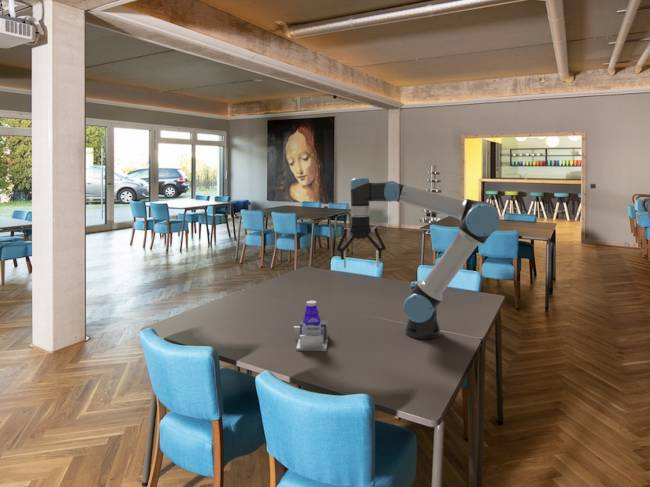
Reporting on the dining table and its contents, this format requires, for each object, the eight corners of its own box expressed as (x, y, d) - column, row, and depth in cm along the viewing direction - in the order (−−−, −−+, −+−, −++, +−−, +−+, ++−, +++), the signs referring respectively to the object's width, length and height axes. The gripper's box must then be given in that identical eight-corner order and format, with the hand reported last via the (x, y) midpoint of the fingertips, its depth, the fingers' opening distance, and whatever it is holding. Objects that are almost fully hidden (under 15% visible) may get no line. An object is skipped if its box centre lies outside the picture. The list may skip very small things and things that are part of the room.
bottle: (304, 346, 193) (304, 304, 190) (301, 341, 198) (301, 300, 196) (322, 344, 195) (322, 303, 192) (318, 340, 200) (318, 299, 198)
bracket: (327, 341, 202) (327, 327, 201) (326, 351, 191) (326, 336, 190) (298, 340, 202) (298, 326, 201) (296, 350, 192) (296, 335, 191)
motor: (328, 335, 208) (328, 320, 207) (327, 340, 202) (327, 324, 201) (294, 335, 209) (294, 319, 208) (293, 340, 203) (292, 324, 202)
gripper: (389, 214, 202) (389, 264, 205) (329, 216, 203) (331, 265, 206) (392, 216, 195) (392, 267, 198) (330, 217, 195) (331, 269, 198)
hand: (361, 266), depth 202 cm, fingers open, 13 cm apart
